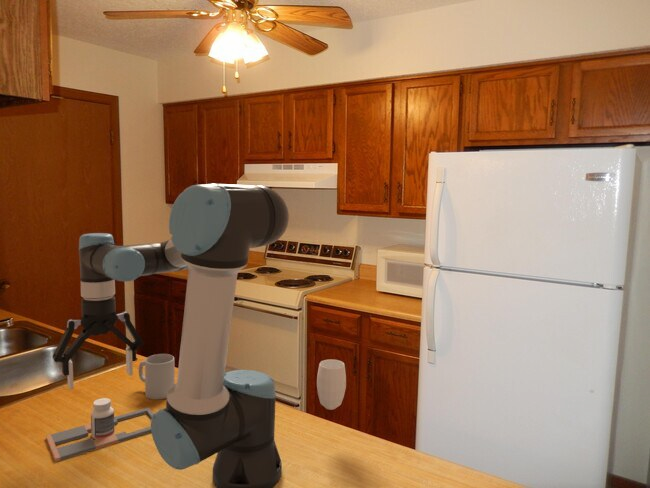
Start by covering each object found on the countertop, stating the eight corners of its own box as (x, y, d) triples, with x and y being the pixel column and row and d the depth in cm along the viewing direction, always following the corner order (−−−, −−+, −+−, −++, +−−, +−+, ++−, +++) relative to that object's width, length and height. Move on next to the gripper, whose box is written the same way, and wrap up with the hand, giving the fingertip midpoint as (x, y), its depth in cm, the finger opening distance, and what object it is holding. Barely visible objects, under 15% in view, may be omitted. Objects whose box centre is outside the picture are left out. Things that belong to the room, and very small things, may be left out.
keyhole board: (164, 428, 121) (164, 425, 121) (55, 461, 105) (55, 458, 105) (148, 410, 130) (148, 407, 130) (46, 438, 114) (46, 435, 114)
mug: (180, 390, 143) (180, 356, 142) (162, 401, 135) (162, 366, 134) (149, 383, 147) (148, 350, 146) (129, 394, 139) (128, 359, 138)
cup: (349, 444, 116) (352, 365, 114) (328, 454, 112) (330, 372, 109) (330, 431, 122) (333, 356, 119) (309, 441, 117) (311, 362, 114)
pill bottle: (118, 433, 118) (118, 400, 117) (99, 442, 113) (98, 408, 112) (106, 427, 121) (105, 394, 120) (87, 436, 116) (86, 402, 115)
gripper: (145, 287, 123) (146, 364, 126) (36, 300, 108) (40, 387, 110) (155, 293, 118) (156, 373, 120) (41, 307, 102) (46, 399, 104)
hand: (101, 380), depth 115 cm, fingers open, 13 cm apart
